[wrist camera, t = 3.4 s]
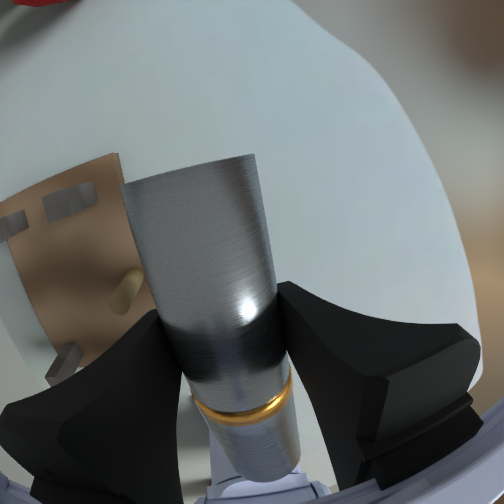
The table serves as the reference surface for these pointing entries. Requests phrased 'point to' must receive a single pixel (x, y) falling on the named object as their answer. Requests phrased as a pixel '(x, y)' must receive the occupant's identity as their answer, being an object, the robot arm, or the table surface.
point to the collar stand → (77, 261)
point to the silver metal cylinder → (221, 305)
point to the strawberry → (37, 2)
